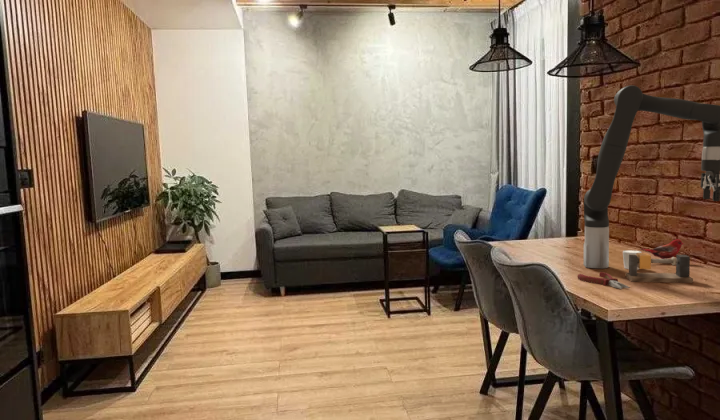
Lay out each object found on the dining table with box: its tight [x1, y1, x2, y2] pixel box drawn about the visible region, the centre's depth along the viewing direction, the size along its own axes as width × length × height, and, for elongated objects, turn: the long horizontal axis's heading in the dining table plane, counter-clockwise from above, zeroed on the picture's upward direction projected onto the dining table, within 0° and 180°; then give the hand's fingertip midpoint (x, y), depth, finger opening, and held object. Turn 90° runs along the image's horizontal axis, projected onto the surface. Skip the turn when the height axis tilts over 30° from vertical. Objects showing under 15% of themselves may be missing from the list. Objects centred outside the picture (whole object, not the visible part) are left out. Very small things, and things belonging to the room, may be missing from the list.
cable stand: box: [625, 254, 694, 284], centre depth 181 cm, size 20×8×9 cm, turn 75°
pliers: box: [577, 271, 630, 290], centre depth 179 cm, size 12×20×3 cm, turn 10°
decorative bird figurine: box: [639, 238, 685, 259], centre depth 208 cm, size 3×18×10 cm, turn 83°
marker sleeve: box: [636, 252, 652, 270], centre depth 182 cm, size 4×5×5 cm
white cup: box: [622, 249, 643, 270], centre depth 200 cm, size 7×7×7 cm
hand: (711, 200), depth 190 cm, fingers open, 8 cm apart
